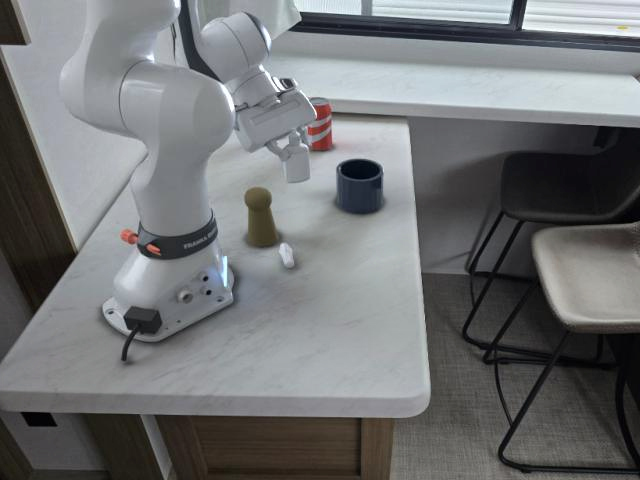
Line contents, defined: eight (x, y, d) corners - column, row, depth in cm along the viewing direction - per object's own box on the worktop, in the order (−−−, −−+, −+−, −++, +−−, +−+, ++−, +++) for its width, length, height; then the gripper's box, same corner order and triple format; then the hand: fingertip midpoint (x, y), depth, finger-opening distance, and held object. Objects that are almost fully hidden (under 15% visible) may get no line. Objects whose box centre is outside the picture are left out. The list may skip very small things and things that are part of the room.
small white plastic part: (273, 270, 105) (272, 257, 103) (281, 251, 109) (280, 239, 107) (292, 272, 105) (291, 259, 102) (299, 253, 109) (298, 240, 107)
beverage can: (304, 143, 145) (302, 97, 137) (328, 139, 147) (326, 95, 139) (312, 153, 141) (309, 107, 133) (335, 149, 143) (335, 104, 135)
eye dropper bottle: (308, 185, 122) (306, 133, 114) (283, 183, 122) (278, 131, 114) (311, 175, 125) (308, 124, 118) (286, 174, 125) (282, 123, 117)
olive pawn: (271, 249, 110) (266, 201, 102) (243, 244, 110) (235, 196, 103) (282, 232, 114) (278, 185, 107) (255, 227, 115) (248, 180, 108)
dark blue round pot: (364, 219, 120) (365, 186, 114) (327, 203, 123) (326, 171, 118) (391, 199, 126) (392, 167, 121) (354, 185, 130) (355, 154, 125)
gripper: (228, 103, 107) (271, 165, 110) (298, 76, 121) (334, 131, 123) (216, 119, 112) (257, 178, 115) (284, 91, 125) (320, 144, 128)
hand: (298, 153), depth 119 cm, fingers closed on eye dropper bottle, 5 cm apart
